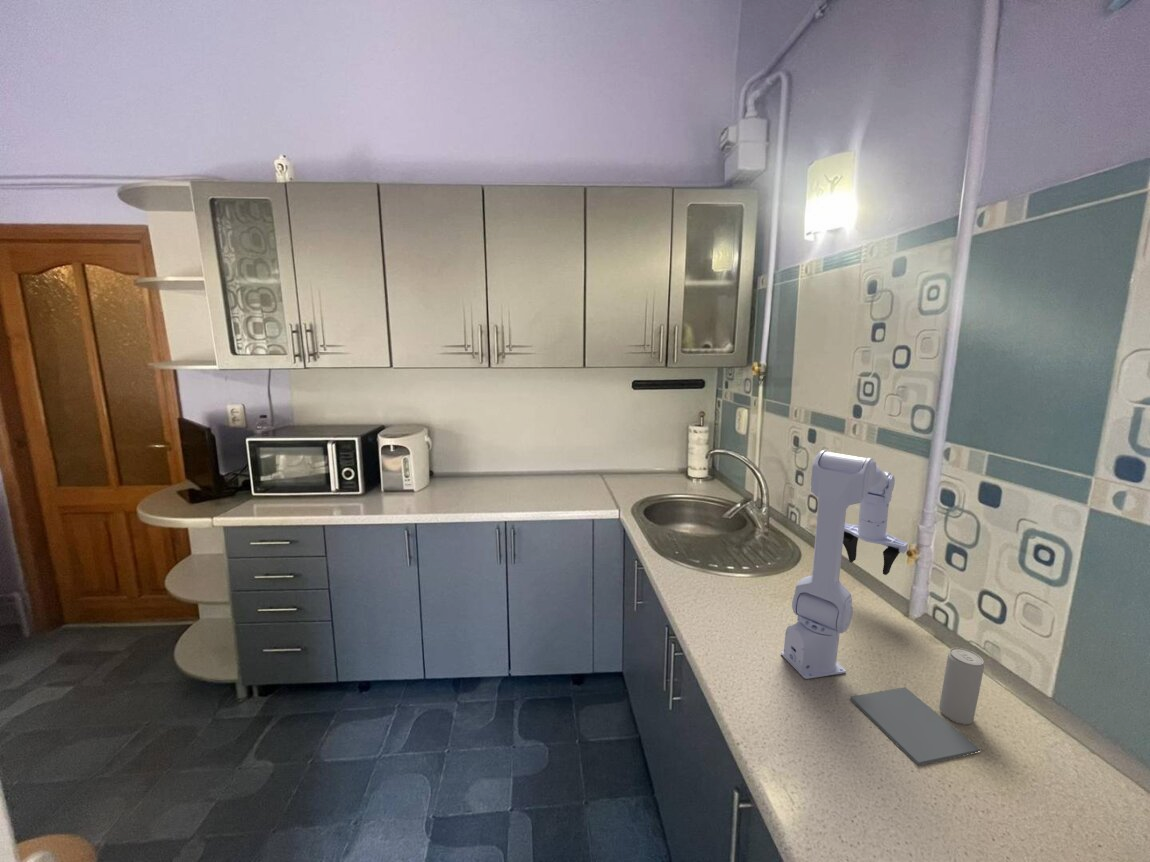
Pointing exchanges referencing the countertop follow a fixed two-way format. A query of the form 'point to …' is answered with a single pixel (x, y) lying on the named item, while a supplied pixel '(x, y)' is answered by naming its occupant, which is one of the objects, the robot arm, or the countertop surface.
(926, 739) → the mat
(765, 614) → the countertop surface
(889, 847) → the countertop surface
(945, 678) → the beverage can
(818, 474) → the robot arm
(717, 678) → the countertop surface
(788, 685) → the countertop surface
